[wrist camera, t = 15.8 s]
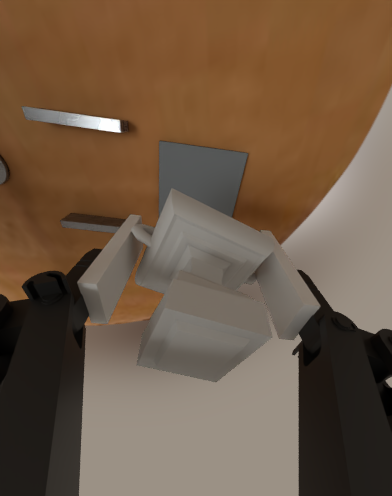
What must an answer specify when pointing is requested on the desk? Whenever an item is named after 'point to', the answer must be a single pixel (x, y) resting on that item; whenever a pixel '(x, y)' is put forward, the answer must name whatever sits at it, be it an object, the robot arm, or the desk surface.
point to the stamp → (201, 290)
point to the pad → (201, 174)
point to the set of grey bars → (66, 118)
